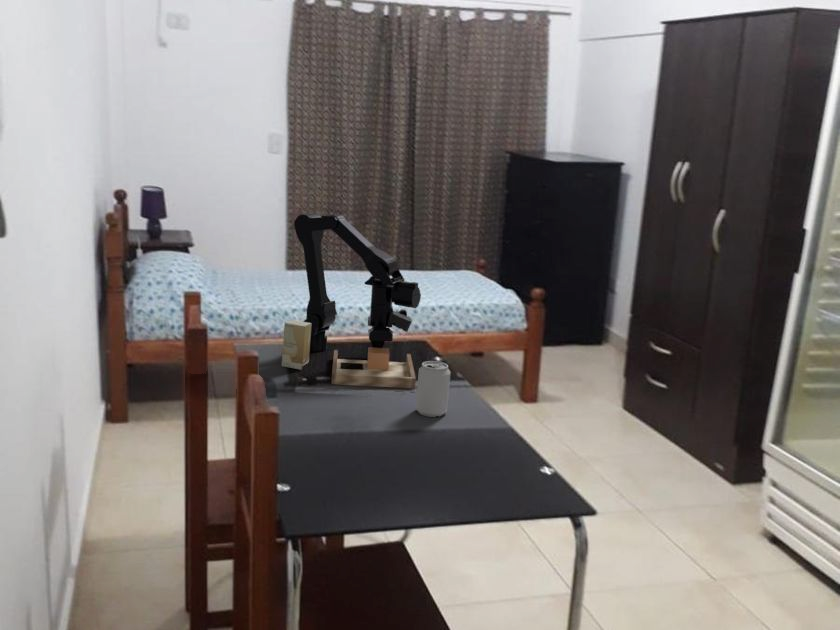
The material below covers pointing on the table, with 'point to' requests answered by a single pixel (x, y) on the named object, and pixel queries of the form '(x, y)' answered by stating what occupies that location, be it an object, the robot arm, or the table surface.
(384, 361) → the rust block
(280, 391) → the table surface
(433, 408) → the can
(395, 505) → the table surface
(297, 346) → the skincare box
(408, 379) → the tray
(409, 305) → the robot arm
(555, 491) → the table surface
